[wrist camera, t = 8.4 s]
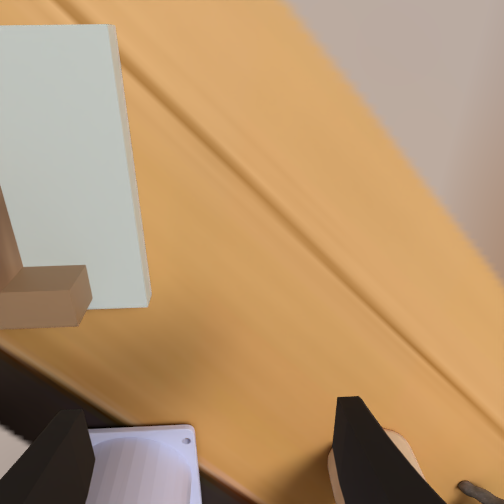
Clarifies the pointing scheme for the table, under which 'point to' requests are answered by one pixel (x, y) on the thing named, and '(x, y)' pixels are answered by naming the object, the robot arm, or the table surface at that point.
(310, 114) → the table surface
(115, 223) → the wall board
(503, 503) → the dog figurine
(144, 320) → the table surface
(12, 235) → the cabinet block
